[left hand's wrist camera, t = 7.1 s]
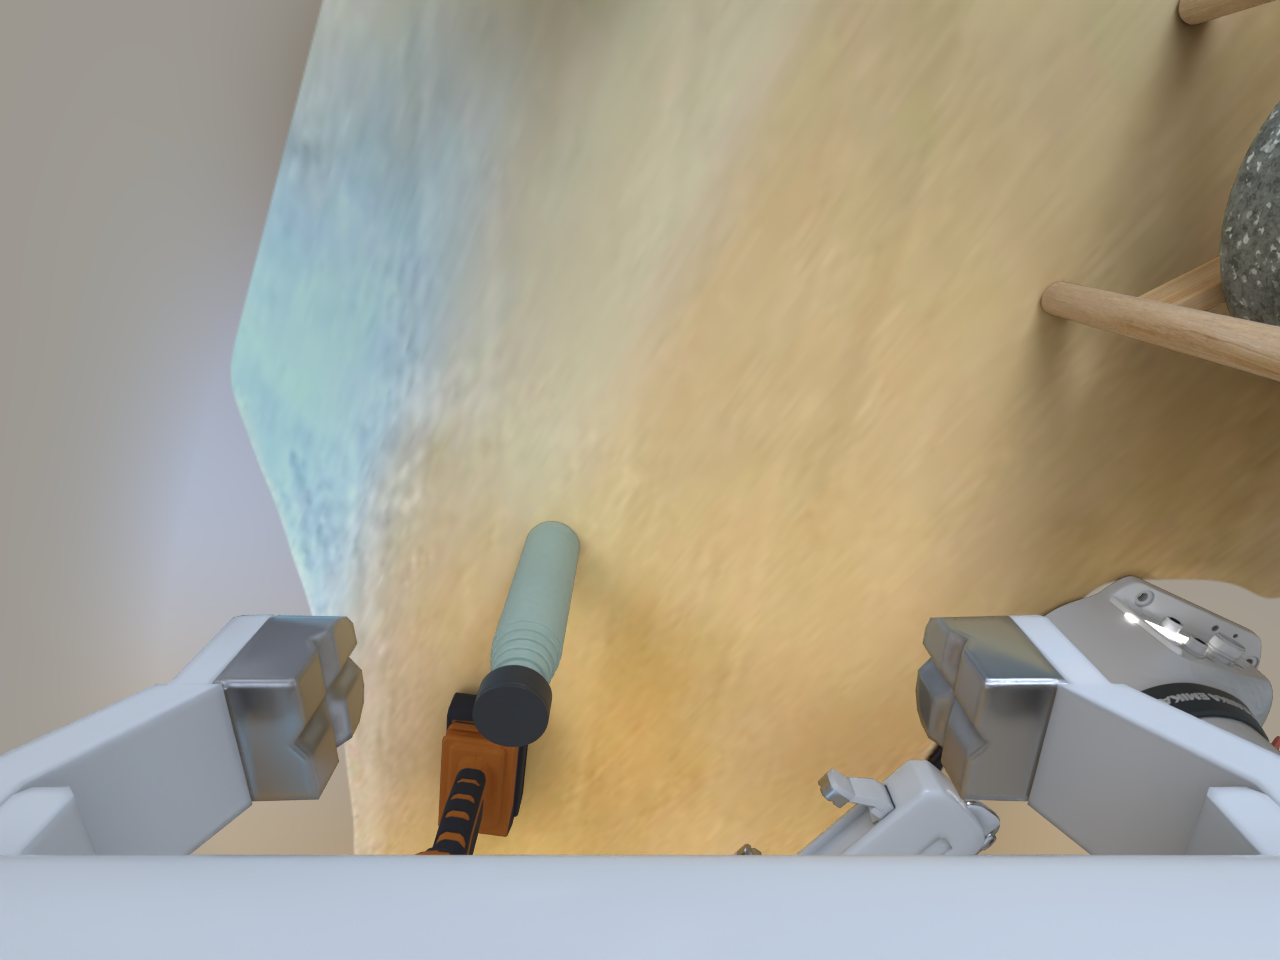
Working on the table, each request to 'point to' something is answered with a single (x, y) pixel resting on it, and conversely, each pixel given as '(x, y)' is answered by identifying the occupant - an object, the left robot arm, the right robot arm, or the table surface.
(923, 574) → the table surface
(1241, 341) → the planter
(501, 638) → the bottle
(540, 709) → the cap
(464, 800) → the power drill
